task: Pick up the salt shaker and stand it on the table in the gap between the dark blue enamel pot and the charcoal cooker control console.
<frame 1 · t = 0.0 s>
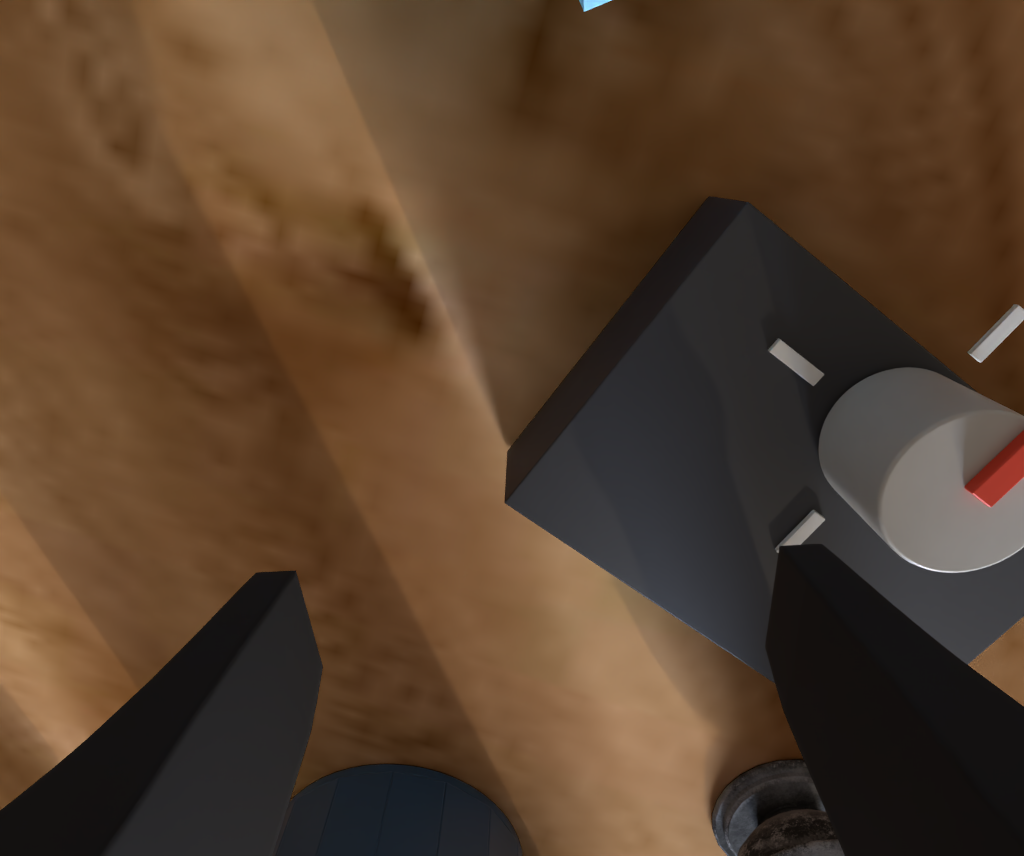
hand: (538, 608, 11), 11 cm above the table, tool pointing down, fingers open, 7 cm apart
console knob: (931, 467, 16), point 5 cm above the table, hinge at 0.0°
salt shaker: (783, 811, 26), on the table
console: (772, 459, 21), on the table
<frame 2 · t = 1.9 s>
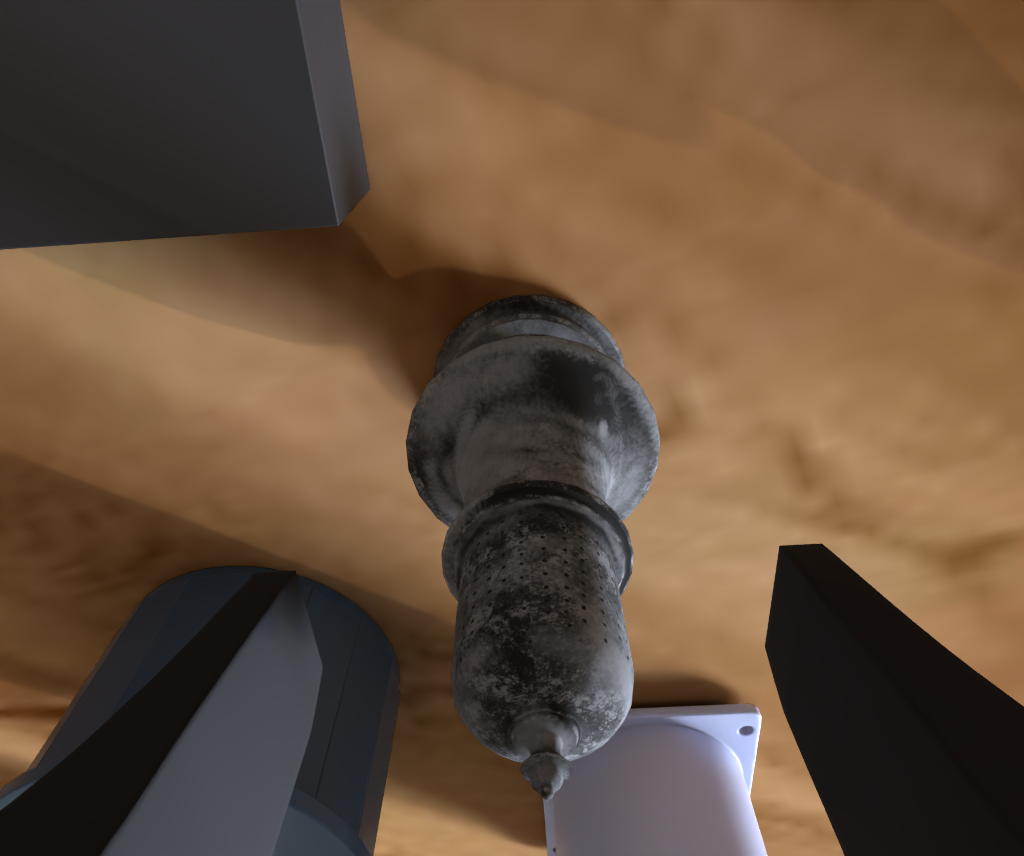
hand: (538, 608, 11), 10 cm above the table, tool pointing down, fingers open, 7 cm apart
pot: (263, 671, 25), on the table
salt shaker: (529, 383, 20), on the table
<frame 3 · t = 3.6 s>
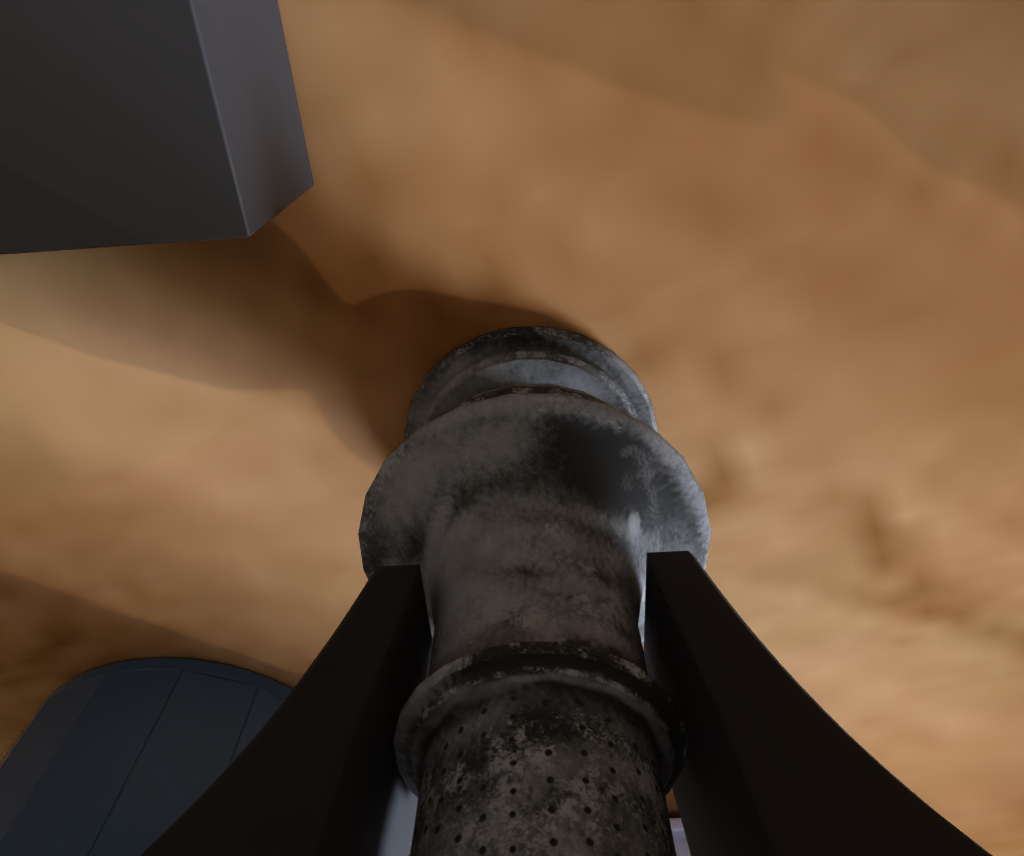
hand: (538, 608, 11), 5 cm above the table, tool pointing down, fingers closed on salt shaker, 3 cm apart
pot: (205, 775, 21), on the table
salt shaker: (530, 438, 15), on the table, touching gripper
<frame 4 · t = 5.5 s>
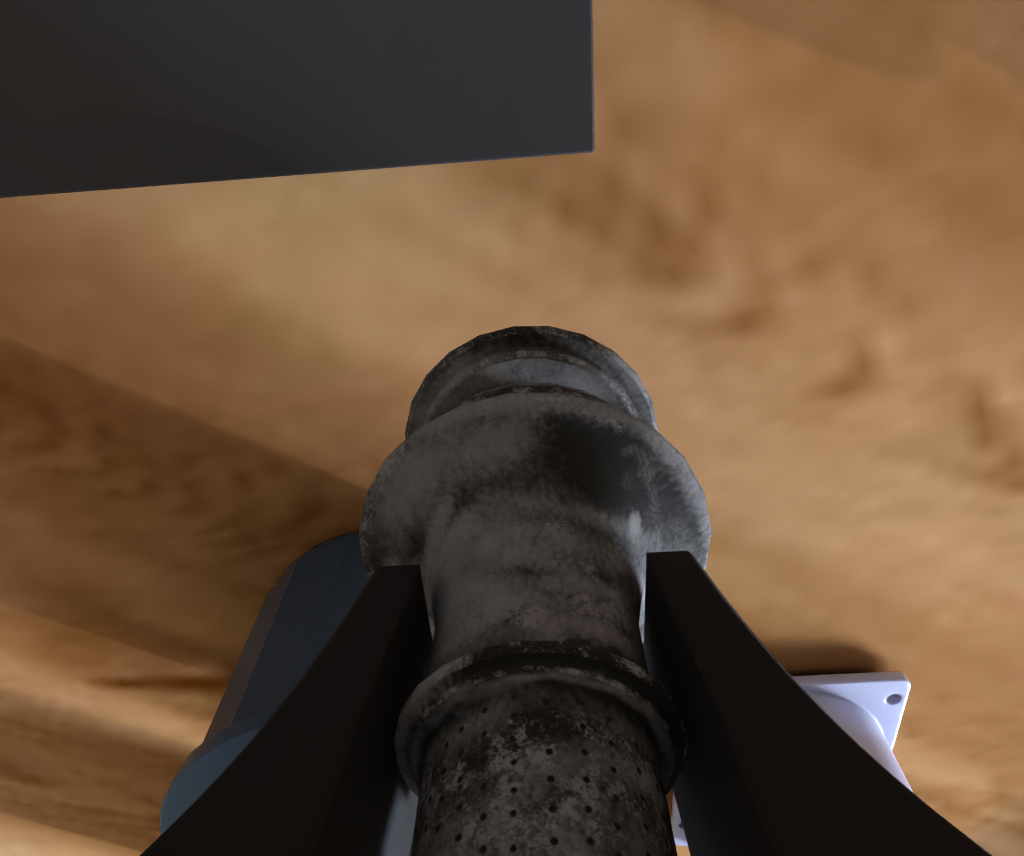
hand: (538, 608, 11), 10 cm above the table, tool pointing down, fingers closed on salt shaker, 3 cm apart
pot: (405, 638, 25), on the table
pot lid: (369, 835, 19), point 7 cm above the table, touching pot
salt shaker: (531, 438, 15), point 5 cm above the table, touching gripper
when the fingers open (5 cm above the table, at t = 7.9 s): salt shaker stays where it is, on the table.
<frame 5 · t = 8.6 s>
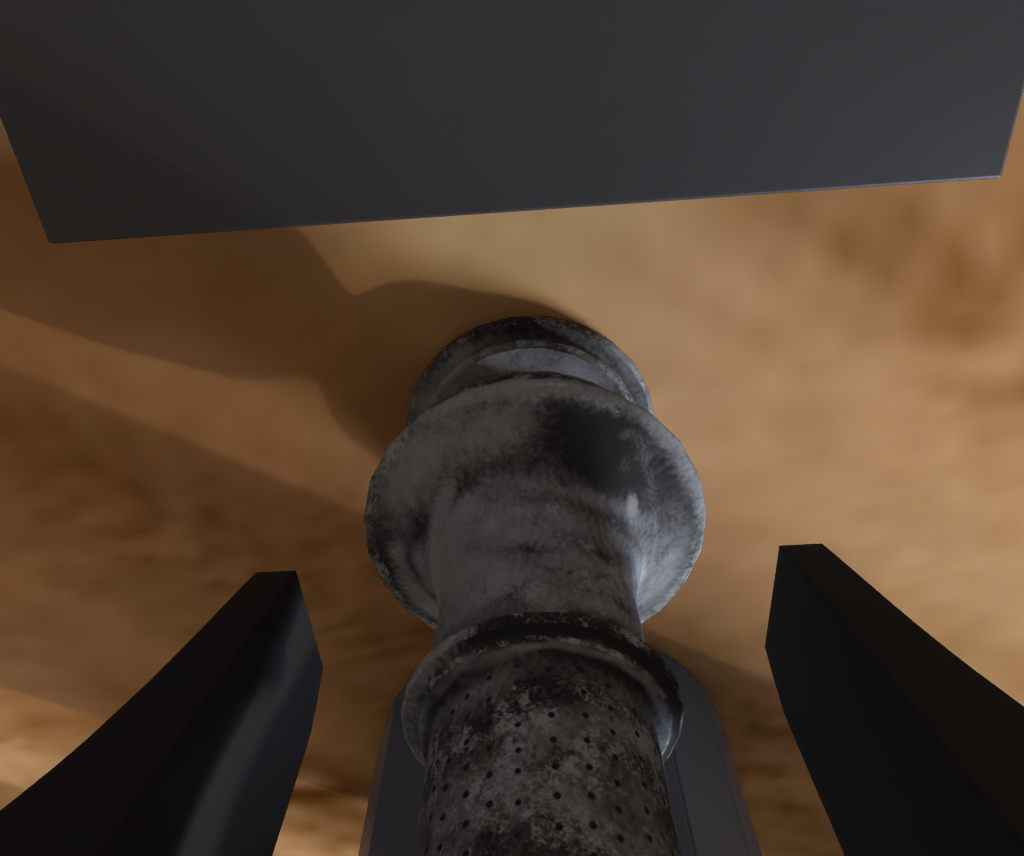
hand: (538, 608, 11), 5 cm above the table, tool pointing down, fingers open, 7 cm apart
pot: (551, 748, 21), on the table
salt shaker: (530, 427, 16), on the table
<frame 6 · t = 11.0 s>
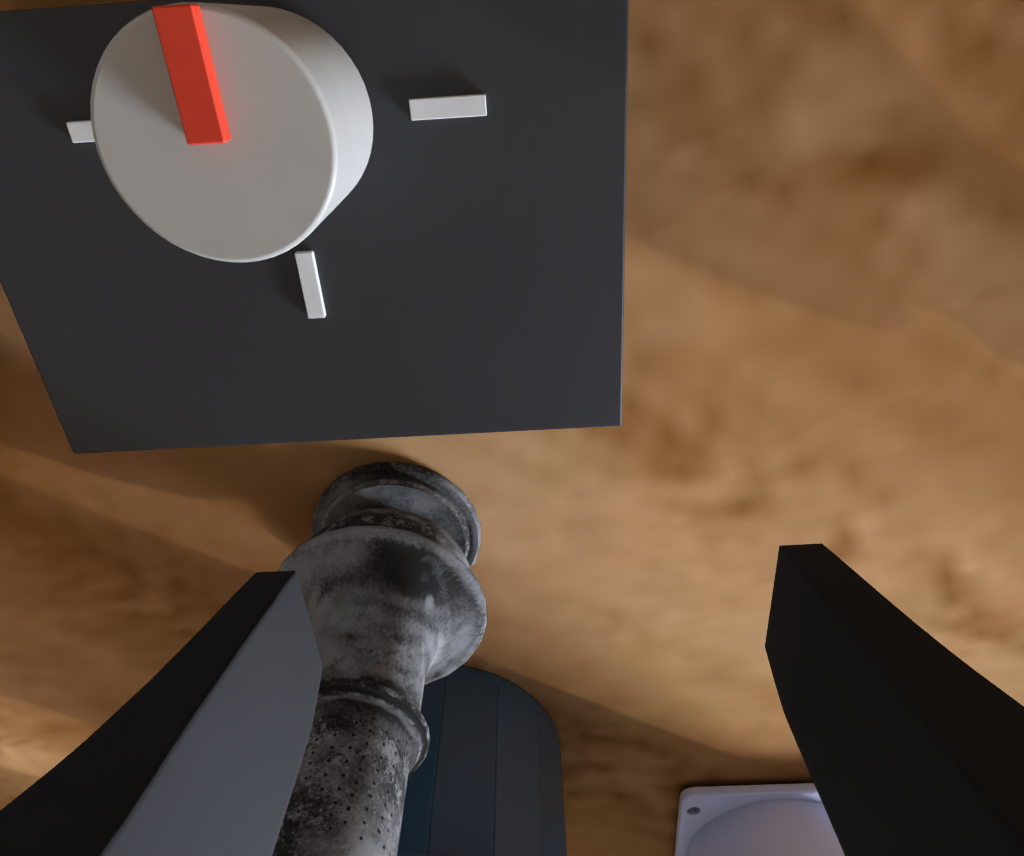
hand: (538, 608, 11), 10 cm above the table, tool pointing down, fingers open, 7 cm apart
pot: (435, 750, 28), on the table
console knob: (246, 130, 12), point 5 cm above the table, hinge at 0.0°
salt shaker: (398, 529, 23), on the table
console: (341, 211, 18), on the table
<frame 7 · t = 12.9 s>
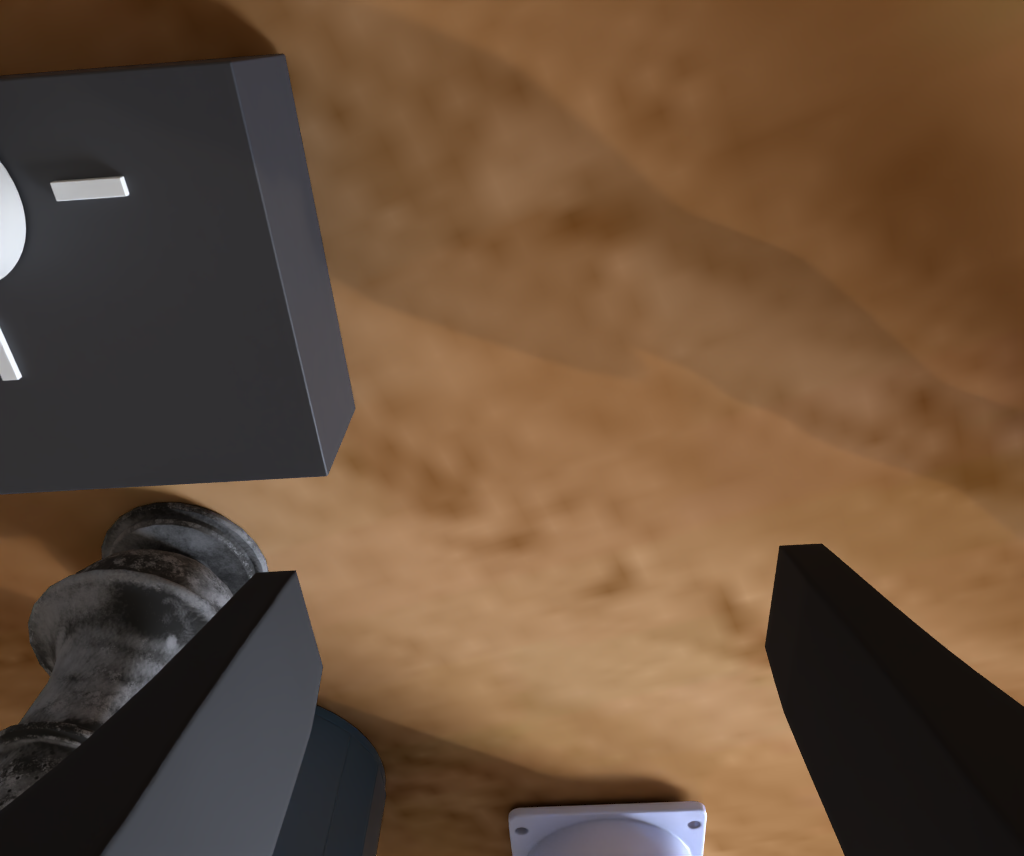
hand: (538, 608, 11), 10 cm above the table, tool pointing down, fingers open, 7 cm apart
pot: (264, 773, 29), on the table
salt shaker: (189, 564, 24), on the table
console: (75, 269, 18), on the table
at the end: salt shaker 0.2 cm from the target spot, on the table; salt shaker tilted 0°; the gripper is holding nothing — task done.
